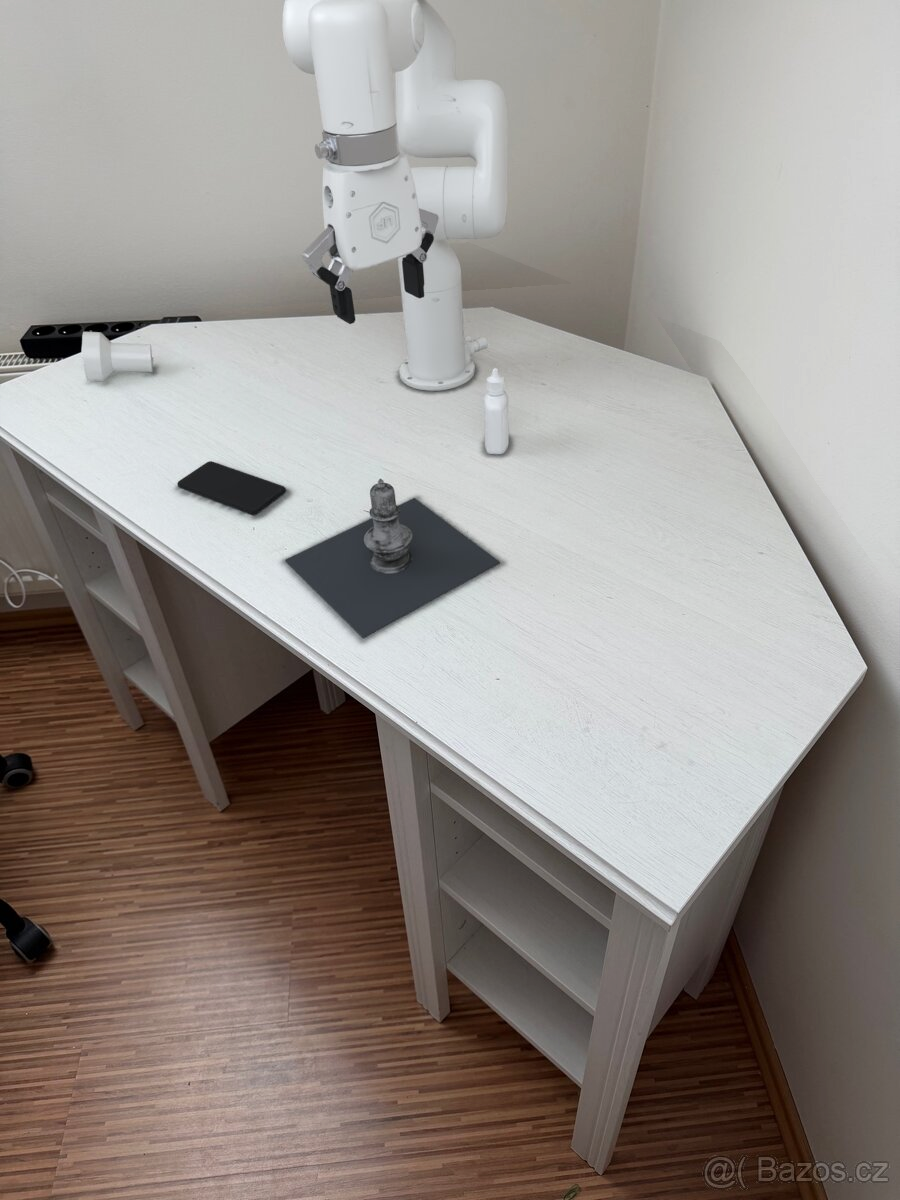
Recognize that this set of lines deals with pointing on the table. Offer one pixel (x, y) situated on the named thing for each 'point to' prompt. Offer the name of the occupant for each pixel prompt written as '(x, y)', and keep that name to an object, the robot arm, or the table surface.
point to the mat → (387, 597)
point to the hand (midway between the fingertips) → (381, 307)
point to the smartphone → (232, 487)
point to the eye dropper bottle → (496, 415)
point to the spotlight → (113, 356)
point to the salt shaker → (387, 532)
